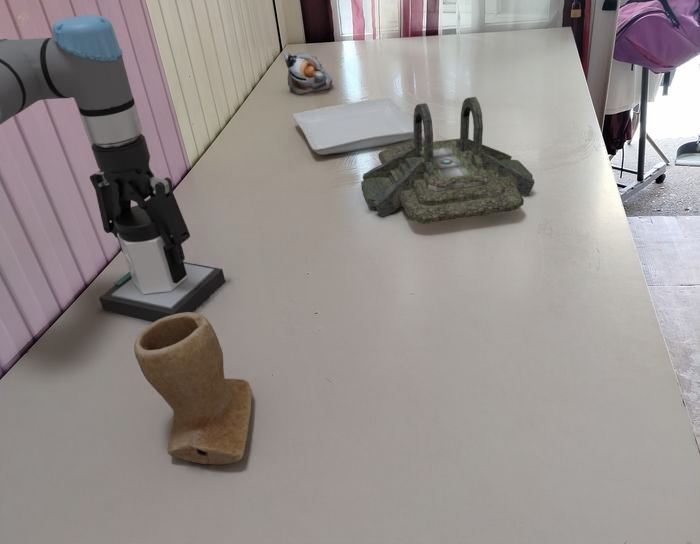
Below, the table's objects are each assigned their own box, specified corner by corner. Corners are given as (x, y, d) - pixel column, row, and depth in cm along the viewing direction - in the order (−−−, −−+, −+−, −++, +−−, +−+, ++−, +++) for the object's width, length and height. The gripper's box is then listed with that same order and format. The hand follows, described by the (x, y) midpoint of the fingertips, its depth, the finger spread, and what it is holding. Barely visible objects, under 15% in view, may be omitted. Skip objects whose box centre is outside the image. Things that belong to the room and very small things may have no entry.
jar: (128, 278, 107) (105, 213, 99) (173, 262, 110) (154, 197, 103) (147, 301, 101) (124, 233, 93) (194, 282, 104) (176, 216, 97)
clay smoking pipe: (173, 391, 87) (143, 300, 78) (258, 385, 87) (238, 293, 78) (147, 476, 76) (107, 381, 66) (246, 470, 75) (220, 373, 66)
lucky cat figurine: (341, 85, 195) (336, 48, 182) (318, 111, 192) (311, 75, 179) (303, 66, 199) (295, 28, 186) (279, 91, 196) (270, 55, 183)
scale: (102, 310, 105) (97, 295, 103) (155, 267, 115) (151, 253, 113) (176, 327, 100) (171, 312, 98) (225, 281, 109) (221, 266, 108)
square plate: (292, 127, 169) (290, 112, 166) (390, 110, 173) (389, 95, 171) (314, 163, 148) (312, 146, 145) (425, 143, 152) (425, 127, 150)
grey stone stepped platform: (559, 217, 118) (573, 119, 107) (382, 243, 116) (377, 145, 104) (496, 150, 145) (502, 66, 134) (352, 169, 143) (345, 86, 132)
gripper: (191, 134, 89) (224, 272, 103) (81, 124, 97) (125, 254, 111) (158, 154, 84) (197, 297, 98) (44, 141, 92) (95, 276, 106)
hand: (159, 274), depth 105 cm, fingers closed on jar, 8 cm apart
